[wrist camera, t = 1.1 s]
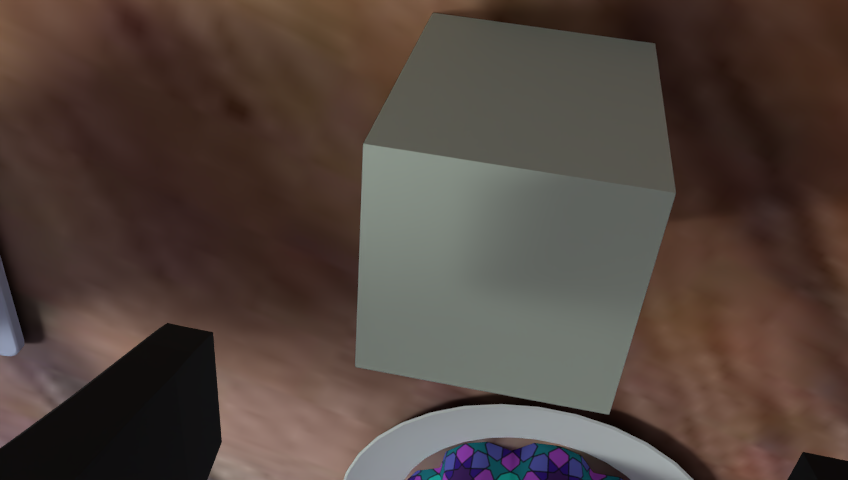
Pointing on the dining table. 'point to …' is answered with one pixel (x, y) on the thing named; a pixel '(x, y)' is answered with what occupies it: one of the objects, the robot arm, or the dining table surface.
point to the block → (513, 211)
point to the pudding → (501, 468)
